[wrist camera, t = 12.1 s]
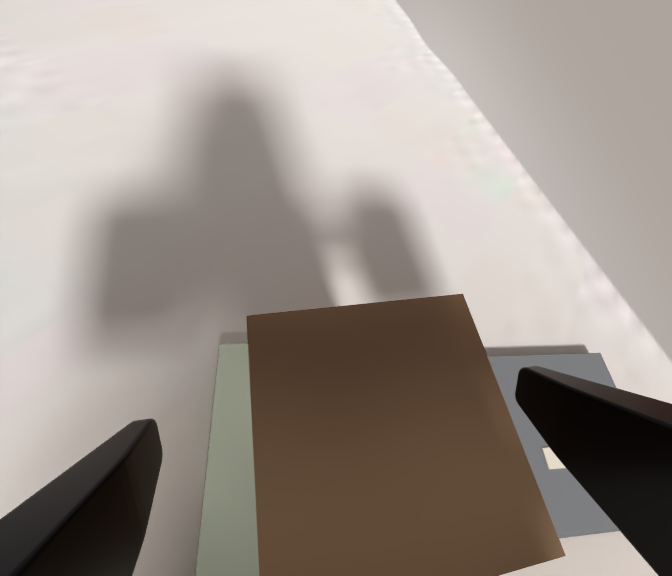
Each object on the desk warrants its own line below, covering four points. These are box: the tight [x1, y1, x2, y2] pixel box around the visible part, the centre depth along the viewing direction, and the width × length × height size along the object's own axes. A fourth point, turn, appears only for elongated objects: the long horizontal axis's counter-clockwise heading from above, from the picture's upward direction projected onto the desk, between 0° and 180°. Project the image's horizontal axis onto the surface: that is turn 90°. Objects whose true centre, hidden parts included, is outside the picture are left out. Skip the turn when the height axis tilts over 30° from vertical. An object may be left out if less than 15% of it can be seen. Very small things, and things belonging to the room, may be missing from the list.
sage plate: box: [195, 343, 259, 576], centre depth 15 cm, size 10×10×1 cm
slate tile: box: [487, 353, 620, 538], centre depth 16 cm, size 8×8×1 cm
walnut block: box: [247, 294, 565, 576], centre depth 10 cm, size 5×5×10 cm
